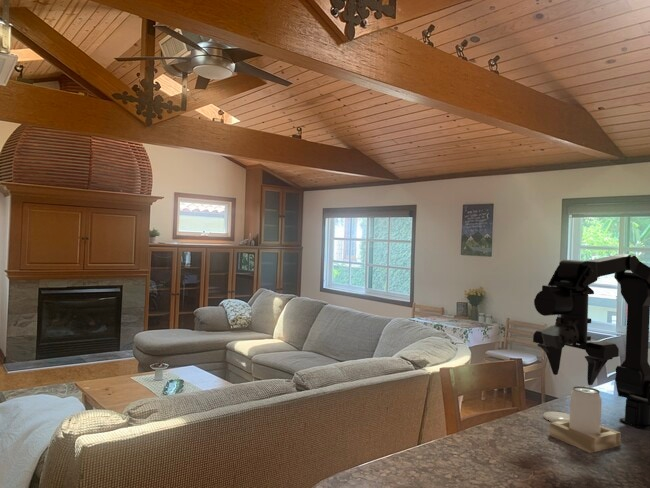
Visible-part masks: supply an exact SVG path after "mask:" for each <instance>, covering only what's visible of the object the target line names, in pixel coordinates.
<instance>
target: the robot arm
mask: <svg viewBox="0 0 650 488" xmlns="http://www.w3.org/2000/svg"><path fill="white" fill-rule="evenodd" d="M612 274H614V279H615V280H616V281H617V283H618V284H619V285H620V295H621V296H622V298H623V299H624V301H625V303H626V306H627V309H626V310H627V311H626V330H625V331H626V332H625V333H626V334H625V336H626V337H625V357H624V360H623V362H622V363H621V364H620V365H616V368H615V378H614V382H615V387H616V390H617V392H616V393H617V396H618V397H621V398H625V406H624V407H625V409H624V417H621V418H619V422H621V423H625V424H627V425H629V426H634V427H636V428H639V429H643V430H646V429H650V364H649V337H650V266H649V265H647V264H645V263H644V262H642V261H640V260H639V258H638V257H637V256H636V255H634V254H630V253H629V254H627V253H615V254H613V255H610V256H604V257H599V258H595V259H589V260H576V259H575V260H574V259H573V260H572V259H563V260H561V261H560V262H559V264H558V265H557V267H556V269H555V270H554V273H553V275H552V276H551V278H550V280H549V282H548V284H547V285H546V284H545V285H542V286H541V290H539V292H537V294H536V295H535V297H534V301H533V305H534V309H535V311H537V312H538V314H540V315H542V316H544V317H547V316H556V319H555V324H553V325H550V326H549V327H547V328H545V329H541V330H536V331H535V332H534V333H533V335H532V343H535V344H536V345H537V347H539V348H540V349H542V350H543V351H544V352H545V355H546V357H547V361H548V363H549V366H550V368H551V371H552V372H551V373H552V374H553V375H554V376H556V375H558V374H559V370H560V366H561V358H562V351H563V348H565V346H567V347H571V348H576V349H578V350H579V349H580V350H584V351H585V353H586V354H587V355H585V356H584V358H585V360H586V362H587V376H586V377H587V385H588V386H592V385H594V383H595V381H596V379H597V378H598V376H599V374H600V373H601V371H602V368H603V367H604V366H605V365H606V364H607V362H608V361H609V360H613V358H617V357H619V347H618V346H617V344H616V343H613V342H608V341H605V340H604V341H603V340H599V341H591V340H592V339H591V337H592V336H591V335H588V324H592V318H589V295H594V294H595V292H594V290H593V289H592V288H590V285H591V284H594V283H596V282H597V281H598V278H600V277H603V276H608V275H612ZM559 315H560V316H559Z"/></svg>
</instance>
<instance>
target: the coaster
mask: <svg viewBox="0 0 650 488" xmlns="http://www.w3.org/2000/svg"><path fill="white" fill-rule="evenodd" d="M543 418H544V419H545V420H546V421H548V420H549V421H548V422H550V423H552V422H557V421H563V420H568V419H570V413H565V412H560V411H559V412H558V411H546V412H544V413H543Z"/></svg>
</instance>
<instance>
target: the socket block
mask: <svg viewBox="0 0 650 488" xmlns="http://www.w3.org/2000/svg"><path fill="white" fill-rule="evenodd" d="M569 421H570V419H568V420H563V421H557V422H550V423H549V436H550V437H553V438H554V439H558V440H560V441H562V442H564V443H567V444H569V445H571V446H574V447H576V448H578V449H580V450H582V451H586V452H588V453H589V454H591V453H595V452H599V451H603V450H604V451H605V450H608V449H613V448H615V447H620V446H621V434H622V433H621V432H620V431H617V430H615V429H612V428H609V427H606V426H603V425H601V431H600V434H595V435H590V436H588V435H585V434H583V433H581V432H578V431H576V430H573V429H571V428H569Z"/></svg>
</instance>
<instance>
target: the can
mask: <svg viewBox="0 0 650 488" xmlns="http://www.w3.org/2000/svg"><path fill="white" fill-rule="evenodd" d="M600 393H601V391H600V390H599V389H597V388H594V387H591V386H590V387H589V386H585V385H584V386H583V385H576V386H573V387H572V391H571V392H570V401H569V403H570V404H569V415H570V421H569V428H571V429H573V430H576V431H578V432H581V433H583V434H585V435H588V436H590V435H595V434H600V431H601V426H602V397H601V394H600Z"/></svg>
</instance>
